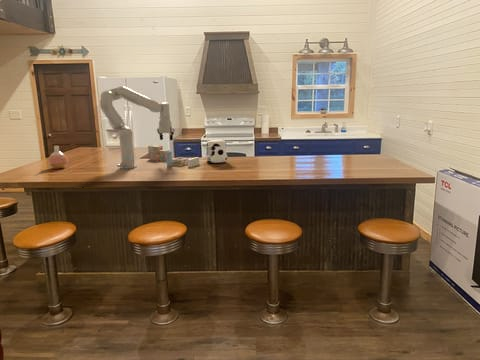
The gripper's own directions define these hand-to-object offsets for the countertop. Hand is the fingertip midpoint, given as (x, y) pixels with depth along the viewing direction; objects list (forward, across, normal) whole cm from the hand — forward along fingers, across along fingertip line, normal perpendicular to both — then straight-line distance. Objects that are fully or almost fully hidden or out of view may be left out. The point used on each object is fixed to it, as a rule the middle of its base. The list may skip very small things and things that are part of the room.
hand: (166, 139), depth 285 cm
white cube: (+20, +36, +17) cm, 45 cm away
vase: (+19, -69, -47) cm, 86 cm away
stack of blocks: (+20, -18, +12) cm, 29 cm away
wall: (+19, +27, -4) cm, 33 cm away
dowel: (+20, +11, -13) cm, 26 cm away
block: (+19, +14, -3) cm, 23 cm away
